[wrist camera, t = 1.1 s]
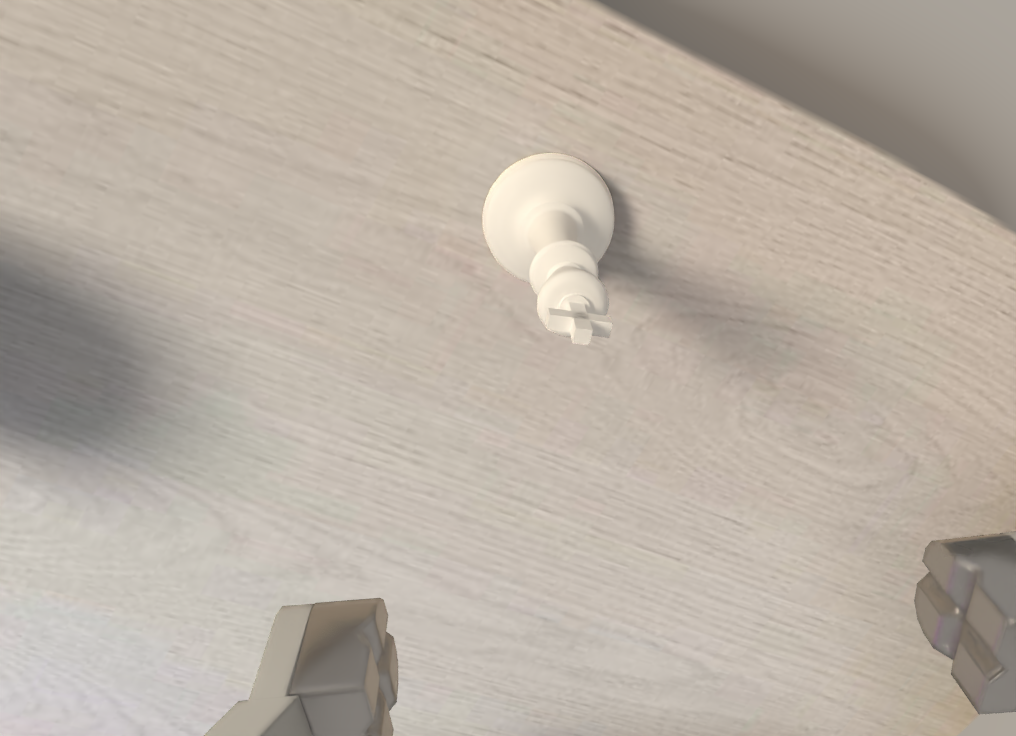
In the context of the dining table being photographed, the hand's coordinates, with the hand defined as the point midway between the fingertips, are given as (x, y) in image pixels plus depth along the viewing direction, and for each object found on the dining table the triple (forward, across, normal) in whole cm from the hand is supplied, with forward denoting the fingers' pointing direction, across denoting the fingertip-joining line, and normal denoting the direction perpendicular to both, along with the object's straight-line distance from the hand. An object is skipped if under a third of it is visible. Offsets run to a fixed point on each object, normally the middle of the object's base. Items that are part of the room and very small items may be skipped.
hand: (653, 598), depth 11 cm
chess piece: (+19, 0, 0) cm, 19 cm away
